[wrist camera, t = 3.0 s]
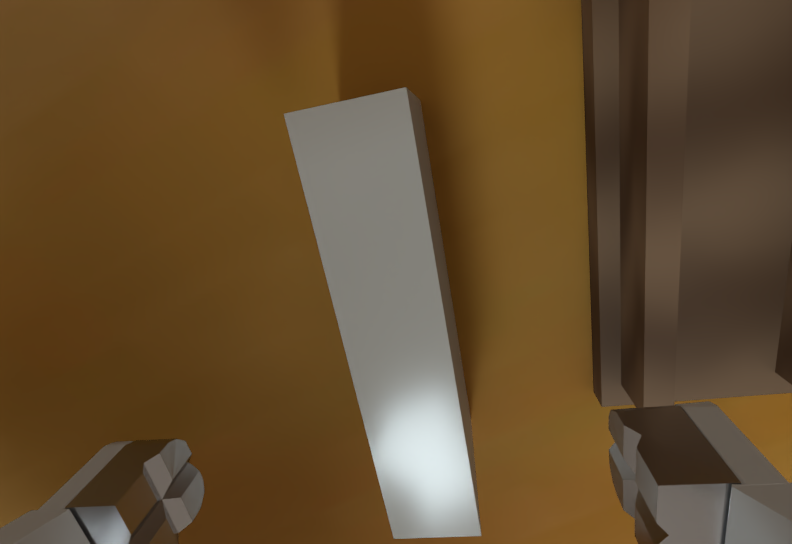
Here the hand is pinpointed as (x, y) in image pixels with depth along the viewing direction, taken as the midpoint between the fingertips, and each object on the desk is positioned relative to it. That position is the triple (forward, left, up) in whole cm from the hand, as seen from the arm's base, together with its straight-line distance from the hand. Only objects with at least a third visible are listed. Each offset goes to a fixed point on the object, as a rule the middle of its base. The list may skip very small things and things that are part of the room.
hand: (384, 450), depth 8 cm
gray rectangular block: (-1, 0, -10) cm, 10 cm away
